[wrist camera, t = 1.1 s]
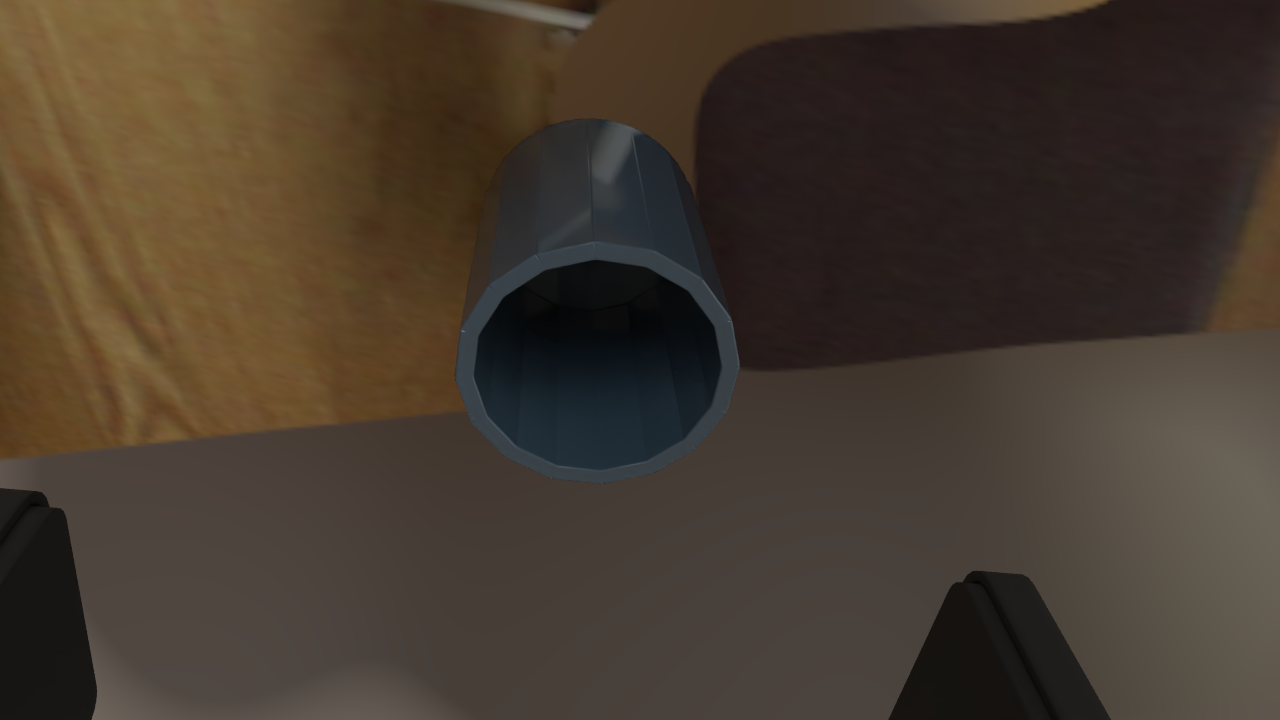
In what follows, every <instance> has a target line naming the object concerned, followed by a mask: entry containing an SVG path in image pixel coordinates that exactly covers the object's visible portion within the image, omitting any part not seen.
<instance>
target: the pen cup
mask: <svg viewBox="0 0 1280 720" xmlns="http://www.w3.org/2000/svg"><path fill="white" fill-rule="evenodd" d="M739 369H740V361H739V355H738V349H737V344H736V338H735V332H734V326H733V321H732V318H731V314H730V311H729V308H728V305H727V301H726V298H725V295H724V292H723V288H722V285H721V282H720V279H719V276H718V272H717V269H716V266H715V263H714V259H713V256H712V253H711V250H710V246H709V243H708V240H707V237H706V234H705V230H704V227H703V224H702V221H701V217H700V214H699V211H698V208H697V204H696V201H695V198H694V195H693V192H692V188H691V186H690V184H689V183H688V181H687V180H686V178H685V175H684V173H683V172H682V170H681V168H680V167H679V165H678V163H677V162H676V161H675V160H674V158H673V157H672V156H671V155H670V153H669V152H668V151H667V150H666V149H665V148H664V147H663V146H661V145H660V144H659V143H658V142H657V141H655V140H654V139H652V138H651V137H649V136H648V135H647V134H645V133H643V132H641V131H639V130H637V129H635V128H633V127H630V126H627V125H625V124H622V123H618V122H614V121H609V120H601V119H575V120H570V121H563V122H560V123H557V124H553V125H550V126H548V127H545V128H543V129H541V130H539V131H537V132H535V133H533V134H532V135H530V136H528V137H527V138H525V139H524V140H523V141H521V142H520V143H519V144H518V145H516V146H515V147H514V148H513V149H512V150H511V151H510V152H509V153H508V154H507V156H506V157H505V158H504V159H503V161H502V162H501V163H500V165H499V166H498V168H497V169H496V171H495V173H494V175H493V177H492V179H491V181H490V184H489V187H488V189H487V190H486V193H485V196H484V202H483V207H482V213H481V218H480V223H479V229H478V234H477V240H476V245H475V251H474V256H473V261H472V267H471V272H470V278H469V283H468V288H467V294H466V299H465V305H464V310H463V316H462V321H461V326H460V332H459V341H458V350H457V359H456V368H455V380H456V383H457V386H458V388H459V391H460V394H461V397H462V399H463V402H464V405H465V408H466V410H467V413H468V416H469V419H470V421H471V422H472V424H473V425H474V426H475V427H476V428H477V429H478V430H479V431H480V432H481V433H482V434H483V435H484V436H485V437H486V438H487V439H488V440H489V441H490V442H491V443H492V445H494V447H495V448H497V450H498V451H499V452H500V453H501V454H502V455H503V456H506V458H508V459H510V460H512V461H514V462H516V463H518V464H521V465H523V466H525V467H527V468H529V469H531V470H533V471H536V472H538V473H540V474H542V475H544V476H547V477H548V478H552V479H560V480H569V481H577V482H587V483H596V484H601V483H603V484H605V483H610V482H615V481H620V480H625V479H630V478H635V477H640V476H645V475H650V474H652V473H655V472H657V471H659V470H660V469H662V468H664V467H666V466H668V465H669V464H671V463H673V462H675V461H676V460H678V459H680V458H681V457H683V456H685V455H687V454H688V453H690V452H692V451H694V450H695V449H696V448H697V447H698V446H699V445H700V444H701V442H702V441H703V440H704V439H705V438H706V436H707V435H708V434H709V433H710V432H711V430H712V429H713V428H714V427H715V426H716V424H717V423H718V422H719V421H720V420H721V418H722V417H723V416H724V415H725V414H726V411H727V410H728V407H729V403H730V400H731V397H732V393H733V389H734V386H735V383H736V379H737V376H738V373H739Z"/></svg>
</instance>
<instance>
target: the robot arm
mask: <svg viewBox="0 0 1280 720" xmlns="http://www.w3.org/2000/svg"><path fill="white" fill-rule="evenodd" d="M96 697H97V686H96V680H95V674H94V669H93V663H92V658H91V652H90V647H89V641H88V636H87V630H86V625H85V619H84V613H83V608H82V602H81V597H80V591H79V586H78V580H77V575H76V569H75V564H74V558H73V553H72V547H71V542H70V536H69V530H68V525H67V519H66V516H65V513H64V511H63V510H62V509H60V508H51V507H49V504H48V501H47V498H46V497H45V495H44V494H43V493H42V492H37V491H27V490H14V489H4V488H0V720H91V719H92V716H93V713H94V709H95V704H96ZM889 720H1111V719H1110V717H1109V715H1108V714H1107V712H1106V710H1105V708H1104V707H1103V705H1102V703H1101V701H1100V700H1099V698H1098V696H1097V695H1096V693H1095V691H1094V689H1093V687H1092V686H1091V684H1090V682H1089V680H1088V679H1087V677H1086V675H1085V673H1084V672H1083V670H1082V668H1081V667H1080V665H1079V663H1078V661H1077V659H1076V658H1075V656H1074V654H1073V652H1072V651H1071V649H1070V647H1069V645H1068V644H1067V642H1066V640H1065V638H1064V636H1063V635H1062V633H1061V631H1060V630H1059V628H1058V626H1057V624H1056V622H1055V621H1054V619H1053V617H1052V615H1051V614H1050V612H1049V610H1048V608H1047V607H1046V605H1045V603H1044V601H1043V600H1042V598H1041V596H1040V594H1039V593H1038V591H1037V589H1036V587H1035V586H1034V584H1033V583H1032V582H1031V580H1030V579H1029V578H1028V577H1026V576H1024V575H1021V574H1010V573H1009V574H1008V573H998V572H985V571H972V572H971V573H970V574H968V575H967V576H966V578H965V579H964V581H963V583H962V582H956V583H955V584H953V585H952V586H951V588H950V589H949V592H948V594H947V596H946V598H945V600H944V602H943V604H942V606H941V609H940V611H939V613H938V615H937V617H936V619H935V621H934V623H933V625H932V628H931V630H930V632H929V634H928V636H927V638H926V641H925V643H924V645H923V647H922V649H921V651H920V653H919V655H918V658H917V660H916V662H915V664H914V666H913V669H912V670H911V673H910V675H909V677H908V679H907V681H906V683H905V685H904V688H903V690H902V692H901V694H900V696H899V698H898V700H897V703H896V705H895V707H894V709H893V711H892V713H891V715H890V717H889Z"/></svg>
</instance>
